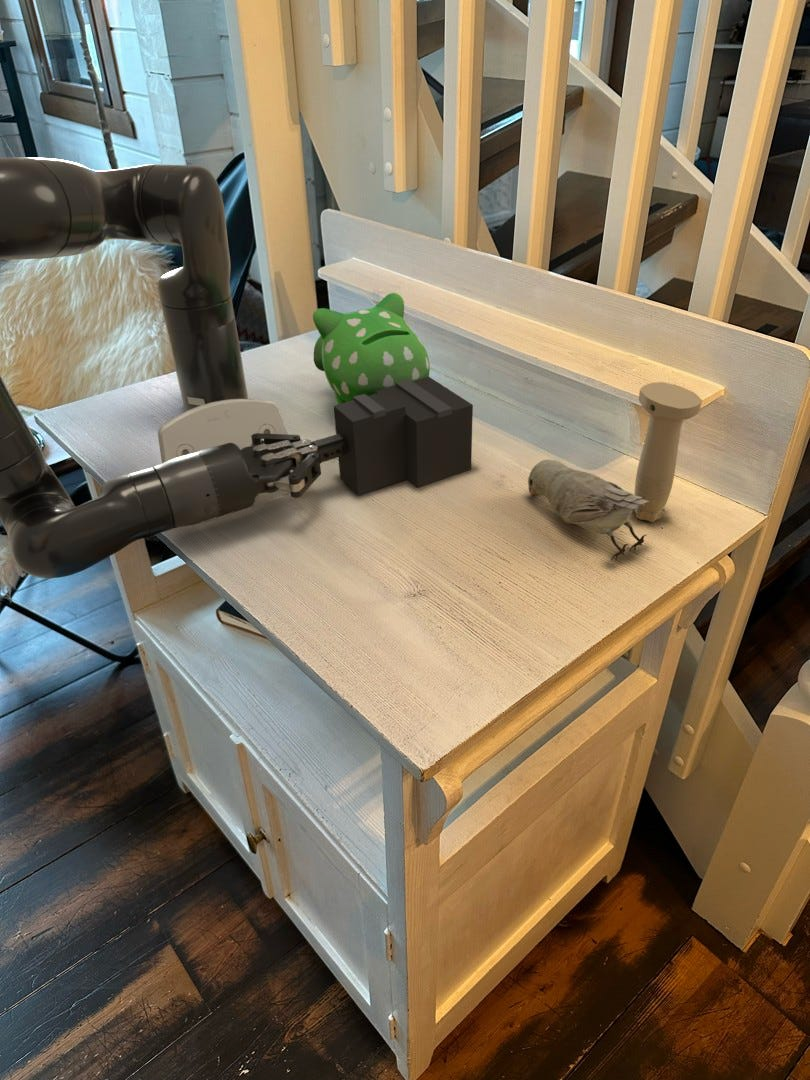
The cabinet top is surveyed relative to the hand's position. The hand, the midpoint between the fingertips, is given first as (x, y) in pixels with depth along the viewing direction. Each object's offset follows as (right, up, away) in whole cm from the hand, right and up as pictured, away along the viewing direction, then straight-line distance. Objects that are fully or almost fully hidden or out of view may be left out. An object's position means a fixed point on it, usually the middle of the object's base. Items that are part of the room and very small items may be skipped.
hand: (343, 443), depth 90 cm
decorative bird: (+27, -10, -5) cm, 29 cm away
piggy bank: (+3, +8, +21) cm, 22 cm away
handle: (+35, -9, -3) cm, 36 cm away
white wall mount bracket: (-15, -3, +8) cm, 17 cm away
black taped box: (+10, -1, +8) cm, 13 cm away
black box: (+3, -4, +5) cm, 7 cm away
